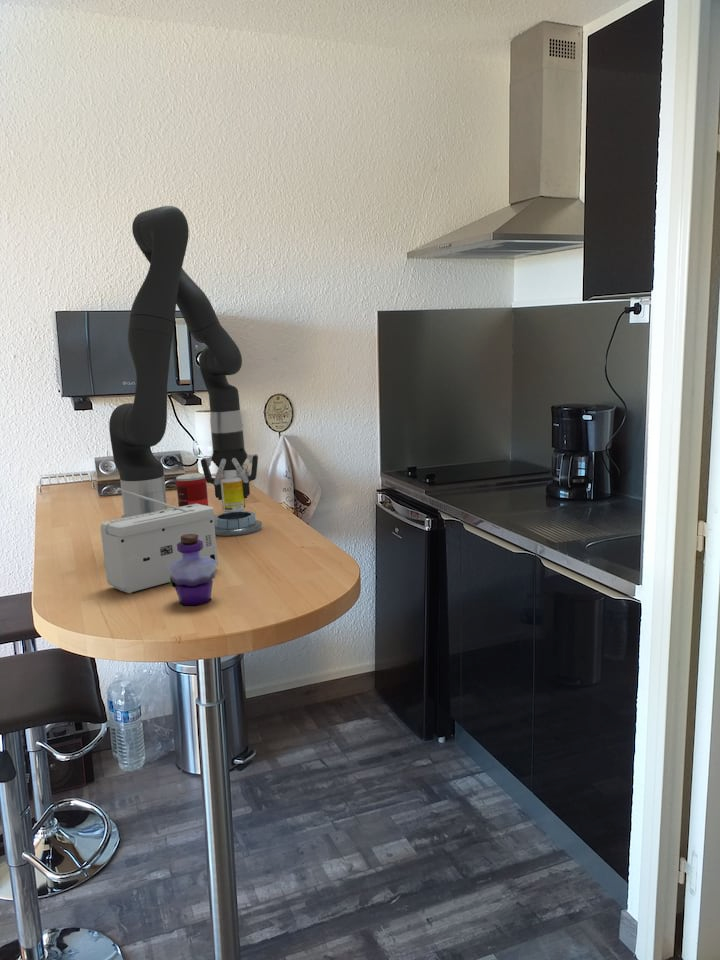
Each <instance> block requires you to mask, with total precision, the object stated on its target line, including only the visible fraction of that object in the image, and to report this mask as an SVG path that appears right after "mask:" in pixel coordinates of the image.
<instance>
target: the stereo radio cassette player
mask: <svg viewBox="0 0 720 960" xmlns="http://www.w3.org/2000/svg"><path fill="white" fill-rule="evenodd" d="M116 490H117V491H119V492H120V491H121V492H122V491H124V490H121V487H117V489H116ZM124 492H127V493H130V494H132V495H135V496H138V497H141V498H144V499H147V500H150V501H152V502H155V503H158V504H161V505H165V506H167V510H162V511H157V512H152V513H147V514H141V515H136V516H131V517H126V518H121V517H120V518H118V519H117V518H116V519H113V520H107V521H103V522H102V523H101V524H100V533H101V534H100V535H101V543H102V551H103V559H104V567H105V574H106V582H107V584H108V585H110V587H111V586H112V587H113V588H114V589H117V591H118V590H119V591H121V592H123V593H127V594H129V595H130V594H133V593H135V592H138V591H141V590H145V589H148V588H153V587H157V586H161V585H163V584H167V583H170V575H169V572H168V569H167V566H168V565H169V564H171V563H172V562H173V561H176V560H179V559H182V558H183V556H182V553H181V552H178V550H177V544H178V543H179V542H181V536H183V535H185V534H197V535H198V540H201V541H203V549H202V550H200V551H199V553H200V557H210V558H212V559H214V560H216V561H217V563H216V567H217V566H218V565H219V564H218V563H219V561H218V560H219V559H218V551H217V550H218V549H217V539H216V536H215V527H214V516H215V508H214V507H212V506H210V505H208V506H206V505H200V504H192V505H187V506H182V507H179V506H175V505H172V504H169V503H167V504H166V503H163V502H160V501H157V500H154V499H151V498H148V497H144V496H141V495H138V494H135V493H131V492H128V491H124Z"/></svg>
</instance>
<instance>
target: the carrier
mask: <svg viewBox="0 0 720 960" xmlns="http://www.w3.org/2000/svg"><path fill="white" fill-rule="evenodd" d="M256 517H257V516H256V512H254V511H251V510H250V511H249V510H248V511H247V510H243V511H239V512H222V513H218V514H216V515H215V514H214V527H215V537H223V538H224V537H225V538H226V537H229V538H230V537H239V536H245V535H246V536H247V535H251V534H254V533H257V532H260V531H261V530H262V529H263V522H262V521H261V520H259V519H257V518H256Z"/></svg>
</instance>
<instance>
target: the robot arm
mask: <svg viewBox="0 0 720 960" xmlns="http://www.w3.org/2000/svg"><path fill="white" fill-rule="evenodd" d="M131 228H132V229H131V230H132V231H131V232H132V236H133V237H134V240H135V243H136V245H137V247H138V248H139V249H140V251H141V253H142V254H143V256H144V257H145V259H146V260H147V261H148V263H149V268H148V271H147V274H146V276H145V278H144V281H143V283H142V285H141V286H140V288H139V290H138V292H137V294H136V296H135V298H134V300H133V303H132V306H131V310H130V314H129V322H128V328H127V329H128V331H127V344H128V349H129V353H130V356H131V359H132V361H133V362H132V363H133V366H134V370H135V375H136V376H135V377H136V378H135V380H136V381H135V382H136V383H135V393H134V399H133V403H132V402H128V403H122V404H120V405H118V406H116V407H115V408H114V409H113V411H112V413H111V415H110V418H109V424H108V427H109V429H108V430H109V431H108V432H109V438H110V444H111V450H112V457H113V461H114V465H115V467H116V469H117V471H118V473H119V480H120V488H121V490H124V491H128V492H131V493H135V494H138V495H141V496H144V497H148V498H151V499H154V500H157V501H160V502H163V503H166V504H168V500H167V491H166V482H165V481H166V479H165V470H164V465H163V463H162V462H161V461H160V460H159V459H158V458H156V456H155V455H154V454H153V451H152V450H151V447H154V446H156V445H158V444H159V443H160V442H161V441H162V439H163V438H164V435H165V433H166V429H167V422H168V383H169V382H168V379H169V373H170V372H169V371H170V361H171V350H172V346H173V345H172V344H173V339H174V330H175V329H174V327H175V320H176V319H175V318H176V309H177V307H178V309H179V312H180V314H181V315H182V318H183V320H184V322H185V324H186V326H187V329H188V330H189V332H190V334H191V336H192V338H193V339H194V340H195V341H196V342H198V343H202V344H204V345H206V347H204V348H203V349H202V350H201V352H200V355H199V361H198V363H199V369H200V370H199V371H200V375H201V376H202V380H203V383H204V385H205V388H206V391H207V393H208V401H209V412H210V419H209V422H210V433H211V442H212V443H211V444H212V455H211V456H210V457H202V459H201V460H200V464H201V467H202V468H201V469H202V472H203V474H204V475H205V479H206V484H211V485H213V486H214V495H215V498H216V499H218V501H222V497H221V487H220V479H221V478H222V477H223V471H225V470H237V471H238V473H239V476H241V477H242V479H243V490H244V498H245V499H248V497H249V496H250V494H251V488H250V482H252V481H255V480H256V478H257V474H258V473H257V472H258V462H259V455H258V454H248V453H247V451H246V449H245V437H244V424H243V418H242V415H241V414H242V413H241V406H240V395H239V389H238V388H237V387H236V386H234V385H232V384H230V383H229V382H228V379H227V376H233V375H236V374H237V373H238V372H239V371H240V370H241V368H242V365H243V358H242V357H243V356H242V354H241V351H240V348H239V346H238V345H237V344H236V343H235V341H234V339H232V337H231V336H230V334H229V333H228V331H226V330H225V328H224V327H223V326H222V324H221V322H220V320H219V318H218V315H217V314H216V311H215V310H214V308H213V305H212V304H211V301H210V300H209V298H208V297H207V295H206V294H205V292H204V291H203V289H201V287H200V286H199V285H198V284H197V283H196V282H195V281H194V280H193V279H192V277H190V275H188V274H187V272H186V271H185V270H184V269H183V264H184V259H185V256H186V251H187V247H188V242H189V232H190V231H189V230H190V229H189V222H188V220H187V217H186V215H185V214H184V212H183V211H182V210H181V209H180V208H178V207H176V206H175V205H174V206H173V205H163V206H159V207H155V208H151V209H148V210H143V211H141V212H140V213H137V214H136V216H135V218H134V219H133V222H132V226H131ZM246 460H248V463H249V464H250V465H251V473H250V475H248V473H247V472H246V470H245V467H244V466H243V465H244V464H245V462H246ZM212 463H213V464H214V465H216V467H217V472H216V475H215V477H213V475H212V474H211V469H210V466H211V465H212ZM121 490H120V491H121ZM124 491H121V498H122V499H121V500H122V508H123V515H121V517H120V519H121V518H126V517H131V516H136V515H141V514H147V513H152V512H157V511H162V510H167V509H168V506H165V505H161V504H158V503H155V502H152V501H150V500H147V499H144V498H141V497H138V496H135V495H132V494H130V493H127V492H124Z"/></svg>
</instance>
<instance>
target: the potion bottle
mask: <svg viewBox="0 0 720 960" xmlns="http://www.w3.org/2000/svg"><path fill="white" fill-rule="evenodd" d="M202 549H203V541H201V540H198V535H197V534H185V535H183V536H181V542H179V543H178V544H177V550H178V552H181V553H182V556H183V558H182V559H179V560H176V561H173V562H172V563H171V564H169V565H168V566H167V569H168V572H169V575H170V582H169V583H170V585H171V586H172V587H173V588H175V591H176V594H177V596H178V601H179V604H180V605H181V606H183V607H199V606H201V605H202V606H203V605H206V604H208V603H209V602H210V601H211V600H212V598H211V597H212V590H213V583H214V580H213V579H215V577H216V571H217V570H216V569H217V566H216V563H217V561H216V560H214V559H212V558H210V557H200V553H199V551H200V550H202Z"/></svg>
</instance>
